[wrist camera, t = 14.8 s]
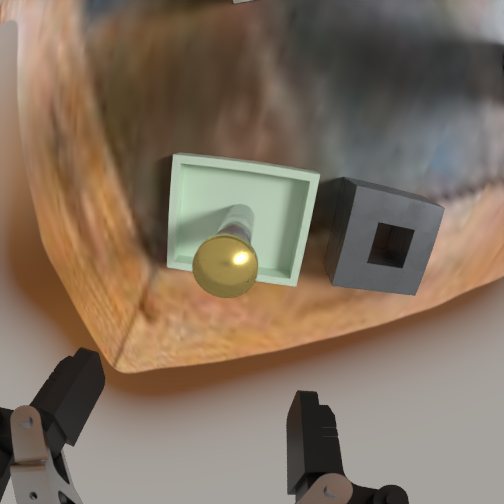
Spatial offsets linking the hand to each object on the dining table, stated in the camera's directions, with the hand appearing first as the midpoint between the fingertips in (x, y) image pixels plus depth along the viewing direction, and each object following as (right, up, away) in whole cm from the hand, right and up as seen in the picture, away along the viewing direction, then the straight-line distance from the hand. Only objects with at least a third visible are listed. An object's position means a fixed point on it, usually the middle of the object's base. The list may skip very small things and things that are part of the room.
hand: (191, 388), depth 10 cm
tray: (+1, +9, +21) cm, 23 cm away
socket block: (+16, +8, +21) cm, 27 cm away
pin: (+1, +9, +20) cm, 22 cm away
